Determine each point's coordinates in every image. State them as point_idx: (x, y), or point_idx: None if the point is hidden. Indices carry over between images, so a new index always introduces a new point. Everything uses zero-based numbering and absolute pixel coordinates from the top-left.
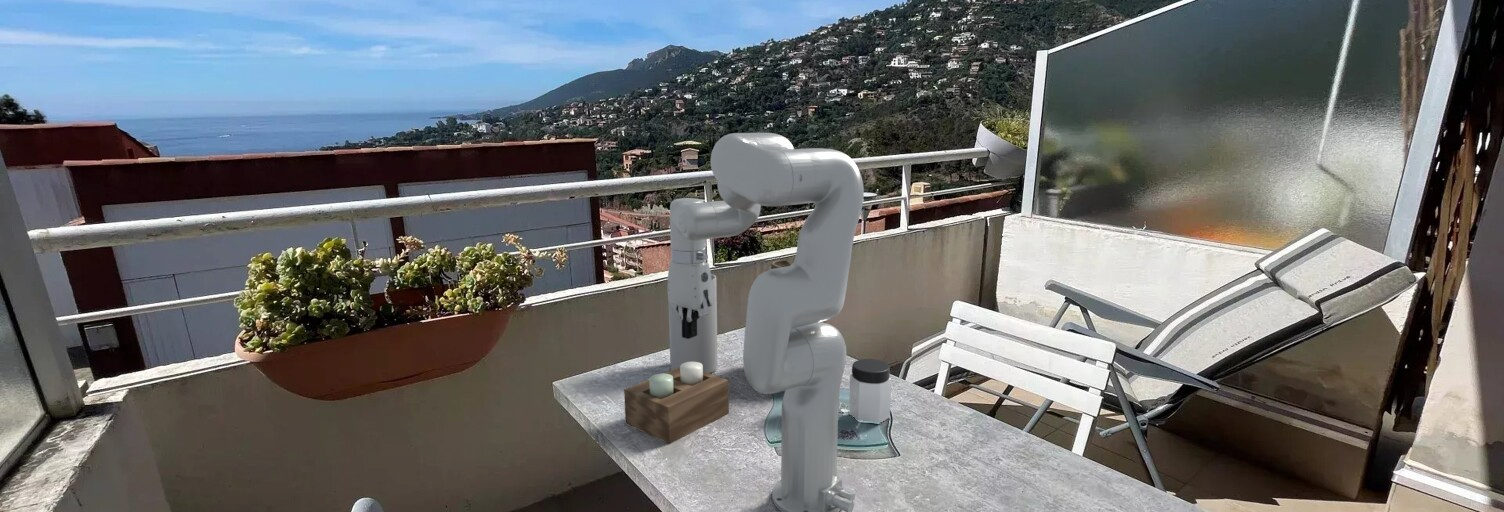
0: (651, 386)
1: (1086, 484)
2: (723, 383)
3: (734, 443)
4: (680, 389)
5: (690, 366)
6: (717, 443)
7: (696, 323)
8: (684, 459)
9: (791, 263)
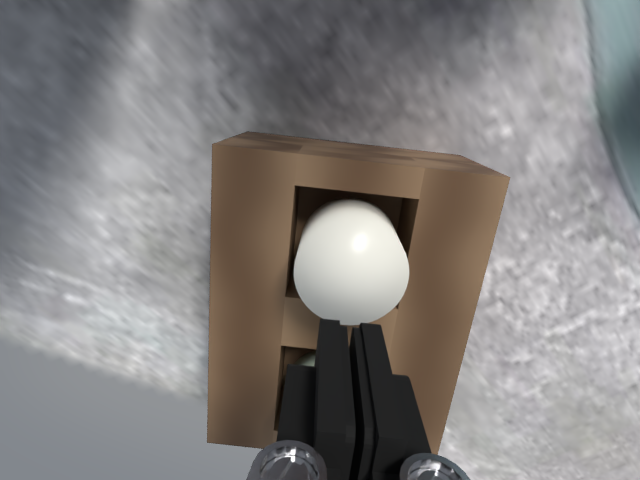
0: None
1: None
2: (499, 210)
3: (568, 299)
4: None
5: (353, 284)
6: (523, 322)
7: (427, 446)
8: (487, 413)
9: None
